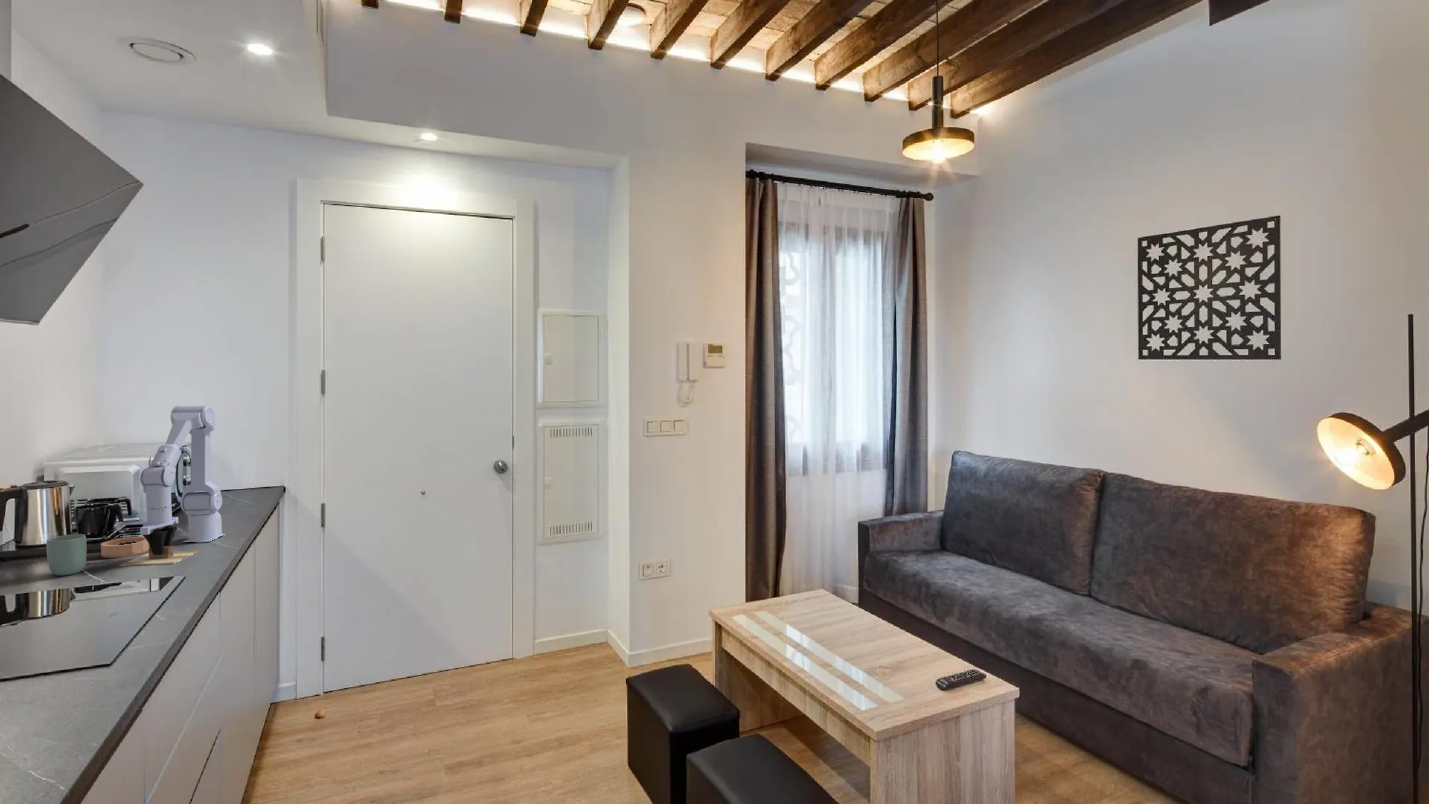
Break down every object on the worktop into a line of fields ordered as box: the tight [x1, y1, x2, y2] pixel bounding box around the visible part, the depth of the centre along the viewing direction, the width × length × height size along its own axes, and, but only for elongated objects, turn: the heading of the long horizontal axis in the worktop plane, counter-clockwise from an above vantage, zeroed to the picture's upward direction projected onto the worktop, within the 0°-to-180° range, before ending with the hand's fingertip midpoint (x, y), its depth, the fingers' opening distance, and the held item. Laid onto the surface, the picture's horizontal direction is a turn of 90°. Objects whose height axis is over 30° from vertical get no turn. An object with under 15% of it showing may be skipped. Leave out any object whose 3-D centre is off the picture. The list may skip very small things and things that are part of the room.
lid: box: [119, 545, 201, 567], centre depth 202 cm, size 14×14×4 cm
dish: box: [100, 536, 150, 559], centre depth 208 cm, size 11×11×4 cm
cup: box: [46, 533, 88, 577], centre depth 187 cm, size 8×8×10 cm
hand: (161, 553), depth 202 cm, fingers closed on lid, 2 cm apart
